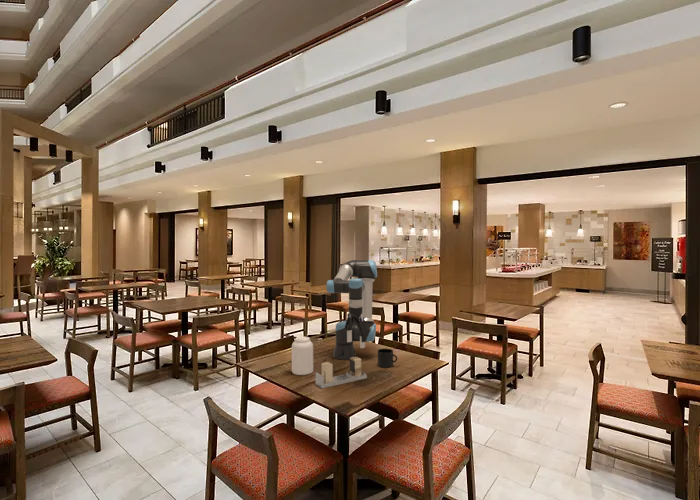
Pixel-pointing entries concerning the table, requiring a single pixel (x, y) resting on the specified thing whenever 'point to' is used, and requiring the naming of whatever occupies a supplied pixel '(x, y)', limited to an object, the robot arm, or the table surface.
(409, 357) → the table surface
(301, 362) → the white jar
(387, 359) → the mug
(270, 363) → the table surface
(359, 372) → the beige upright block
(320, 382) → the rail
